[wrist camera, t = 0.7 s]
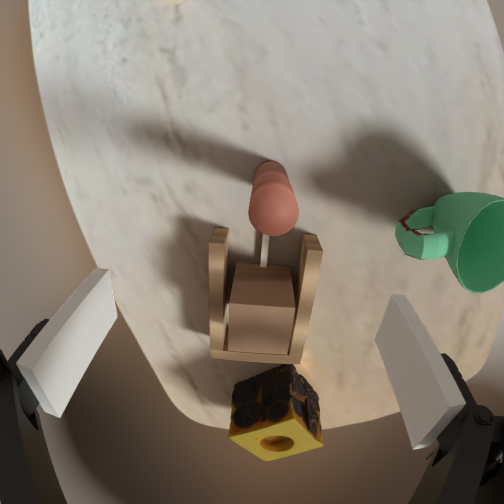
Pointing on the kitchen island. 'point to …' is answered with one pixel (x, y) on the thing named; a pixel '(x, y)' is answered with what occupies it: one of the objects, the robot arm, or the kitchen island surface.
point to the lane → (302, 297)
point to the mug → (460, 237)
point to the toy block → (275, 414)
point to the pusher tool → (265, 271)
